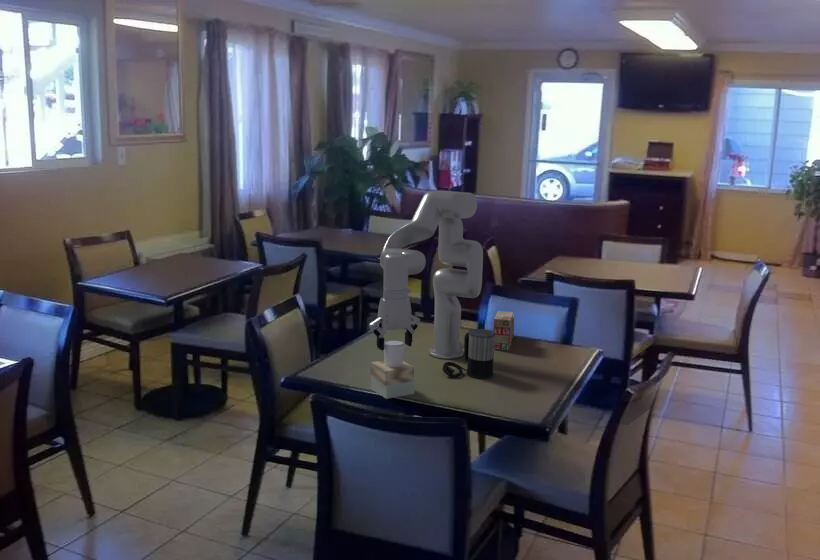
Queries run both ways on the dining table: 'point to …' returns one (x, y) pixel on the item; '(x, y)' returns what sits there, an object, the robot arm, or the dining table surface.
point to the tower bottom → (392, 388)
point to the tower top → (392, 373)
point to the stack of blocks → (503, 330)
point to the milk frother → (476, 355)
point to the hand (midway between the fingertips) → (394, 347)
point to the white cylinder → (394, 353)
